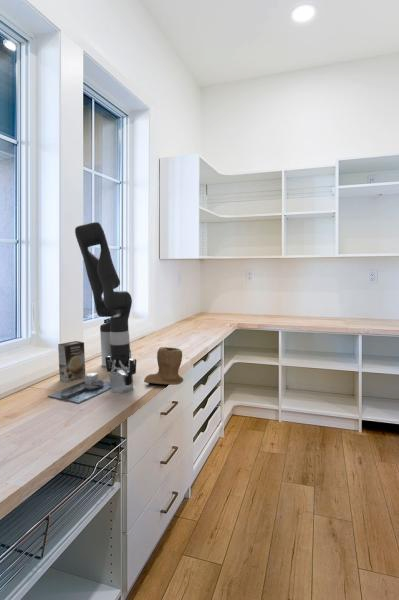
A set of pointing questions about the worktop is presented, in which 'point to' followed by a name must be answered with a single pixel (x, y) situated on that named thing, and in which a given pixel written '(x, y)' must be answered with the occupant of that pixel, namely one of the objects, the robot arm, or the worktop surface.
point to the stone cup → (167, 367)
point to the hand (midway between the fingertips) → (121, 383)
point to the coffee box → (71, 361)
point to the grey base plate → (83, 390)
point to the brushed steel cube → (120, 382)
